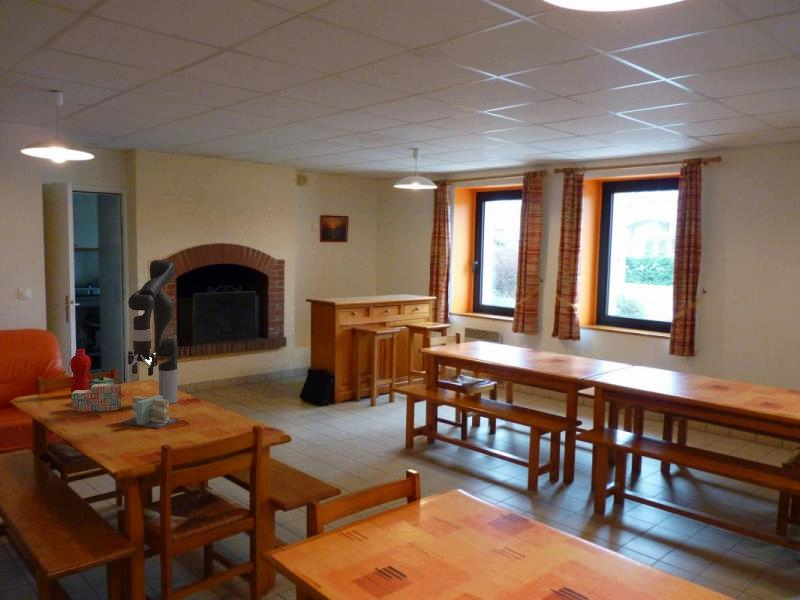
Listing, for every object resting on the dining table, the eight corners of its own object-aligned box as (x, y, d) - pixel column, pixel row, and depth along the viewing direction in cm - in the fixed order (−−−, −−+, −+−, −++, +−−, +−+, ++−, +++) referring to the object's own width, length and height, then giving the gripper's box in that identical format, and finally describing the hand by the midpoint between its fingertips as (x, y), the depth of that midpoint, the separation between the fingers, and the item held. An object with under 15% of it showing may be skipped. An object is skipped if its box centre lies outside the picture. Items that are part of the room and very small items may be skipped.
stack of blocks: (71, 412, 300) (70, 387, 299) (75, 408, 306) (75, 384, 305) (118, 411, 304) (117, 386, 302) (121, 407, 310) (121, 383, 309)
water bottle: (72, 393, 336) (71, 347, 334) (93, 393, 337) (92, 347, 335) (65, 397, 327) (64, 350, 324) (87, 397, 328) (86, 350, 326)
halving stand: (144, 416, 295) (143, 393, 294) (178, 420, 288) (178, 397, 287) (122, 423, 282) (121, 400, 281) (158, 428, 275) (157, 404, 274)
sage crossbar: (158, 416, 292) (157, 395, 291) (163, 416, 291) (163, 395, 290) (136, 423, 279) (136, 402, 278) (142, 424, 278) (141, 402, 277)
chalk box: (115, 400, 322) (114, 372, 321) (98, 404, 314) (98, 375, 313) (105, 398, 327) (104, 370, 326) (88, 401, 319) (87, 373, 318)
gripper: (123, 339, 276) (123, 375, 278) (149, 341, 271) (149, 377, 273) (135, 336, 283) (136, 371, 285) (160, 339, 279) (161, 374, 280)
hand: (142, 374), depth 279 cm, fingers open, 8 cm apart
